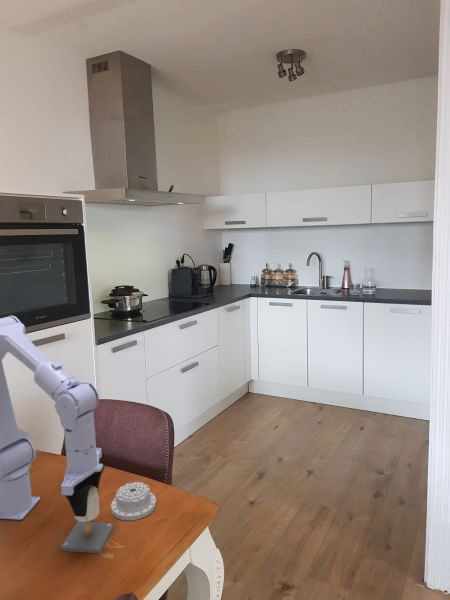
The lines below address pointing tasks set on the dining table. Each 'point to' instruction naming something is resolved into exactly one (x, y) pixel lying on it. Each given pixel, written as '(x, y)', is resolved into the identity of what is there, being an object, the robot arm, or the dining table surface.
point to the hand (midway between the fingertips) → (86, 507)
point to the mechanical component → (133, 502)
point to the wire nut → (91, 506)
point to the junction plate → (87, 537)
